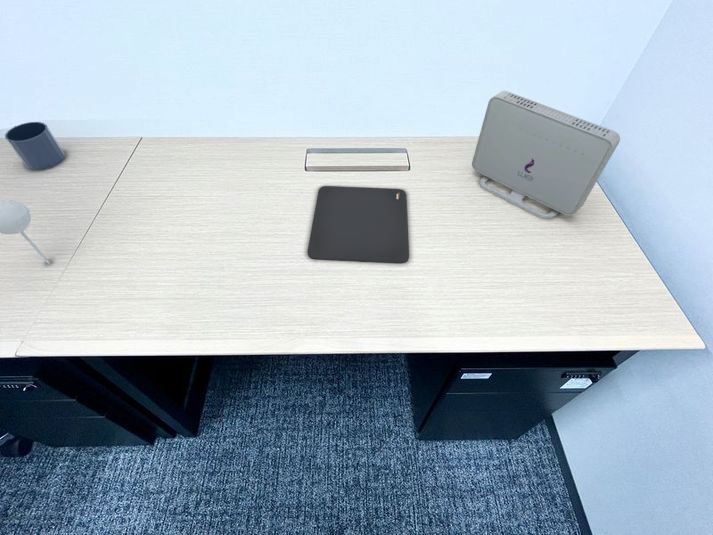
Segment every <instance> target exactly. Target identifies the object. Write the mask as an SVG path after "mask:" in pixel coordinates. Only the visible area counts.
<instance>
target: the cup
mask: <svg viewBox="0 0 713 535" xmlns="http://www.w3.org/2000/svg"><path fill="white" fill-rule="evenodd" d="M4 139H5V140H6V142H7V143H8V144H9V145H10V147H11V148H12V150H13V151H14V153H15V154H16V155H17V157H19V159H20V161H21V162H22V164H24V166H26V168H27V169H28V170H31V171H36V172H38V171H45V170H50V169H52V168H55V167H57V166H58V165H60V164H61V163H63V161H64V160H65V158H66V153H65V152H64V150H63V149H62V147H61V146H60V144H59V142H58V141H57V139H56V137H55V136H54V134H53V132H52V131H51V130H50V128H49V126H48V125H47V124H46V123H44V122H41V121H28V122H24V123H20V124H18V125H16V126H14V127H12V128H10V129H9V130H8V131H7V132H5V134H4Z"/></svg>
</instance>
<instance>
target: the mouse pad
mask: <svg viewBox="0 0 713 535" xmlns="http://www.w3.org/2000/svg"><path fill="white" fill-rule="evenodd" d="M313 213H314V214H313V219H312V224H311V228H310V229H311V230H310V235H309V241H308V246H307V255H308V257H309V258H310V259H312V260H323V261H345V262H364V263H384V264H385V263H386V264H405V263H407V262H408V261H409V257H410V252H409V251H410V249H409V248H410V246H409V226H408V225H409V224H408V221H409V220H408V202H407V192H406V191H405V190H404V189H401V188H388V187H387V188H385V187H365V186H363V187H362V186H338V185H324V186H320V187H319V189H318V191H317V196H316V202H315V206H314V212H313Z"/></svg>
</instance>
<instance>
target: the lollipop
mask: <svg viewBox="0 0 713 535" xmlns="http://www.w3.org/2000/svg"><path fill="white" fill-rule="evenodd" d="M31 220H32V216H31V213H30V209H29V208H28V207H27V206H26V205H24V204H23V203H21V202H18V201H16V200H11V199H1V200H0V234H2V235H16V234H21V235H22V236H23V238H24V239H25V240H26V241H27V242H28V243H29V245H30V246H31V247H32V249H34V250H35V251H36V252H37V254H38V255H39V256H40V257H41V258H42V259H43V260H44V261H45V263H46V264H47V265H50V264H51V261H50V260H49V259H48V258H47V257H46V255H45V254H44V253H43V252H42V251H41V250H40V249H39V248H38V247H37V246H36V244H35V243H34V242H33V240H31V239H30V237H29V236H28V235H27V234H26V233H25V232H24V231H25V230H26V229H27V228H28V227H29V226H30V224H31Z"/></svg>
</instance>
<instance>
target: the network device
mask: <svg viewBox="0 0 713 535" xmlns="http://www.w3.org/2000/svg"><path fill="white" fill-rule="evenodd" d="M620 142H621V135H620V134H619V133H618V132H617V131H615V130H612V129H610V128H607V127H604V126H601V125H598V124H596V123H594V122H591V121H588V120H585V119H584V118H580V117H577V116H574V115H572V114H570V113H566V112H565V111H561V110H559V109H556V108H554V107H550V106H548V105H545V104H542V103H540V102H537V101H535V100H532V99H529V98H526V97H524V96H521V95H518V94H516V93H514V92H510V91H508V90H502V91H500V92H499V93H497V94H496V95H494V96H492V97H491V98H490V99H489V100H488V102H487V106H486V110H485V114H484V118H483V121H482V125H481V128H480V132H479V136H478V139H477V142H476V146H475V150H474V154H473V158H472V161H471V168H472V169H473V170H474V171H475V172H477V173H479V174H480V175H481V174H482V175H483V176H482V177H481V178H480V181H479V184H480V186H481V188H482V189H483V190H485V191H486V192H489V193H491V194H493V195H495V196H496V197H499V198H501V199H503V200H504V201H507V202H508V203H510V204H513V205H514V206H517V207H518V208H520V209H522V210H524V211H526V212H528V213H529V214H532V215H534V216H536V217H538V218H541V219H545V220H547V219H548V220H549V219H554V218H556V217H557V215H558V214H559V213H561V214H563V215H565V216H566V217H567V216H568V217H571V216H574V215H576V214H577V212H578V211H579V210H580V209H581V208H583V206H584V204H585V202H586V201H587V199H588V197H589V196H590V194H591V192H592V190H593V188H594V187H595V185H596V183H597V182H598V180H599V178H600V176H602V173H603V171H604V169H605V168H606V166H607V164H608V163H609V161H610V159H611V158H612V156H613V154H614V152H615V150H616V149H617V147H618V146H619V144H620ZM490 179H491V180H493V181H495V182H497V183H500V184H501V185H502V186H503V185H504V186H506V187H508V188H509V189H512V191H511V192H510V193H508V194H507V193H503V192H502V191H499V190H497V189H496V188H493V187H491V186H489V185H488V184H486V183H487V182H488V181H489V180H490ZM527 197H528V198H530V199H532V200H534V201H536V202H538V203H540V204H542V205H544V206H546V207H549V209H552V210H551V211H550V213H544V212H542V211H539V210H537V209H536V208H533V207H532V206H529V205H527V204H526V203H524V202H523V201H524V200H525V198H527Z"/></svg>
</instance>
